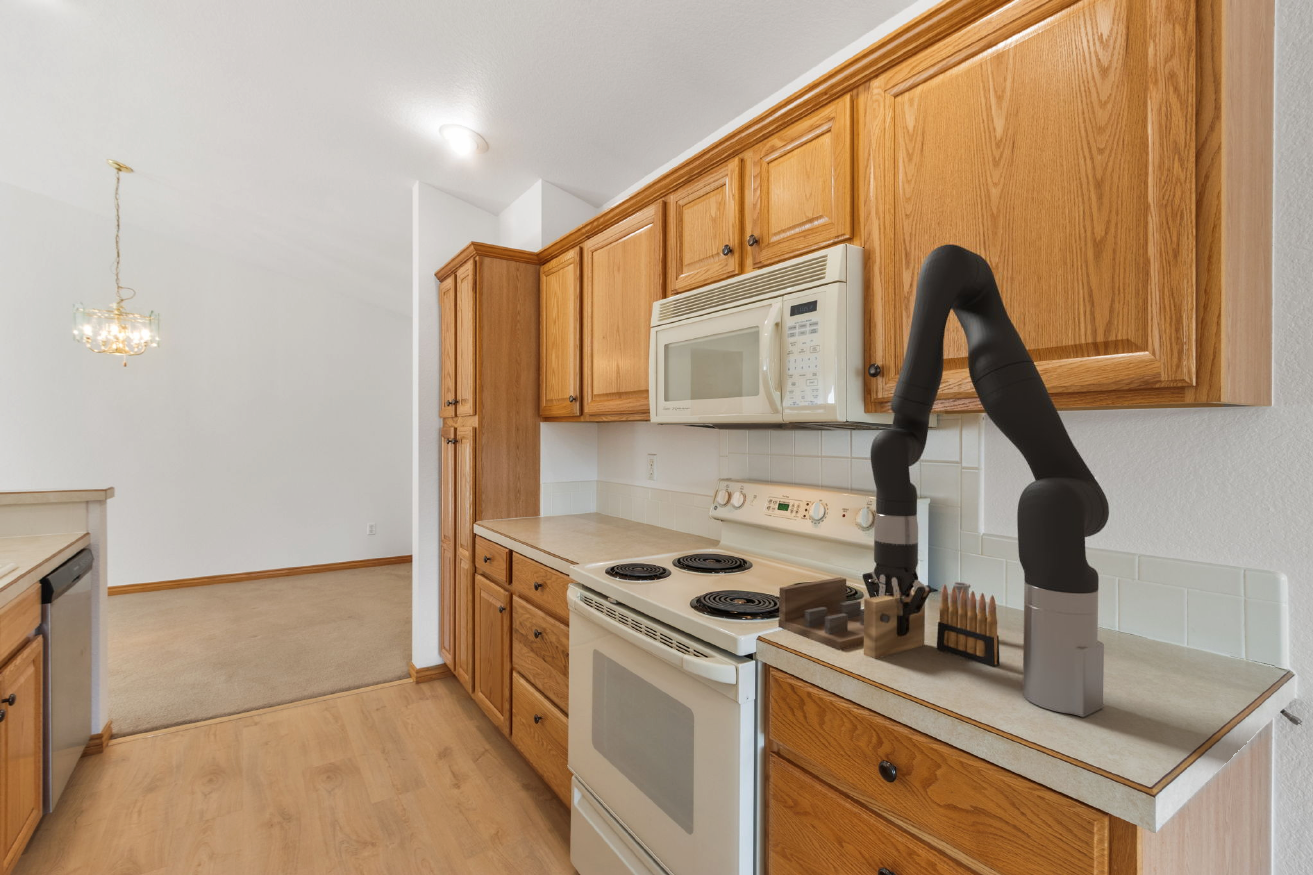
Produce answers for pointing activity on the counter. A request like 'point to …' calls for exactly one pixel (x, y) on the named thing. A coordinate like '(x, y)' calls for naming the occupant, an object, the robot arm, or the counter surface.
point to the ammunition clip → (968, 628)
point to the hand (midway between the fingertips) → (894, 632)
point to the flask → (959, 587)
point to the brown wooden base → (822, 613)
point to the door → (889, 627)
